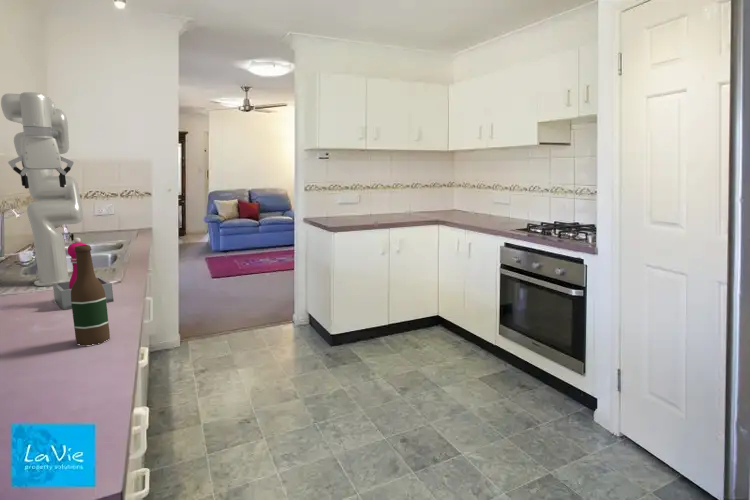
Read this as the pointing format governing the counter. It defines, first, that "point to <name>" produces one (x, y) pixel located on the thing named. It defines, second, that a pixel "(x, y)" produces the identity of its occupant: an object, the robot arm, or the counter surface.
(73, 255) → the pepper mill
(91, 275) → the beer bottle
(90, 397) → the counter surface
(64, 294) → the bin
